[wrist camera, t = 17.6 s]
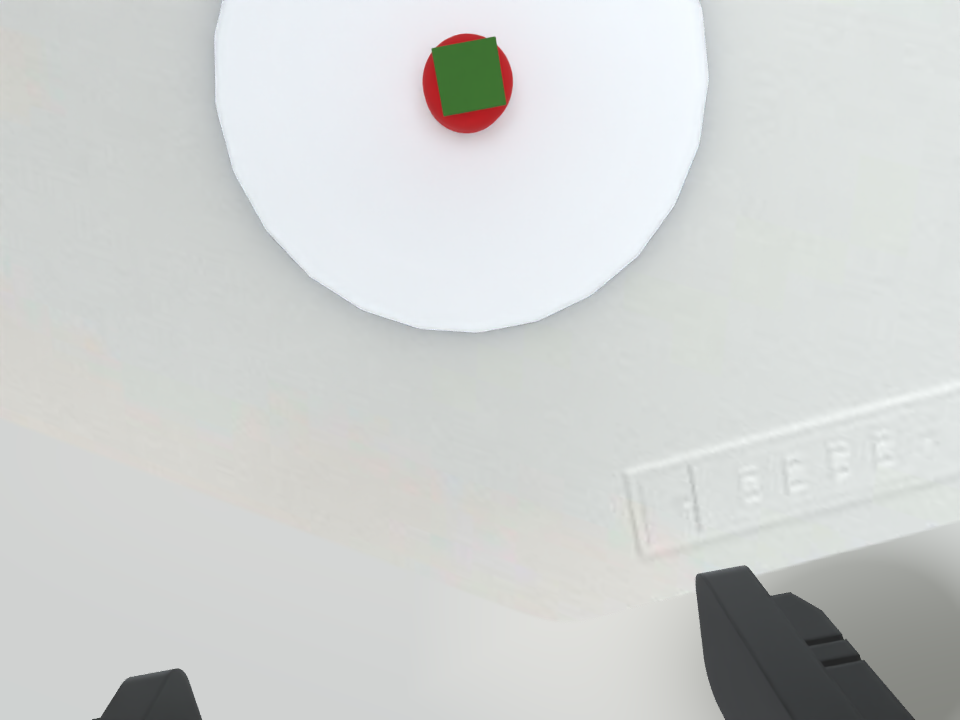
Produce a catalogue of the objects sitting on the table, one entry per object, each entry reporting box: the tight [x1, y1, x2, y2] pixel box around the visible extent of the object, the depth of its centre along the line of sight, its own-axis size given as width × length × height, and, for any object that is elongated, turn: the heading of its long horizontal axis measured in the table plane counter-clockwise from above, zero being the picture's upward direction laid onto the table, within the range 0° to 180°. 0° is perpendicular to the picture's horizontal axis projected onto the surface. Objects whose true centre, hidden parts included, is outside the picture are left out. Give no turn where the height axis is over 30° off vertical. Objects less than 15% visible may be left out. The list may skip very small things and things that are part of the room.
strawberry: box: [422, 33, 513, 133], centre depth 34 cm, size 4×4×5 cm
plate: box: [214, 0, 709, 333], centre depth 37 cm, size 25×25×1 cm
